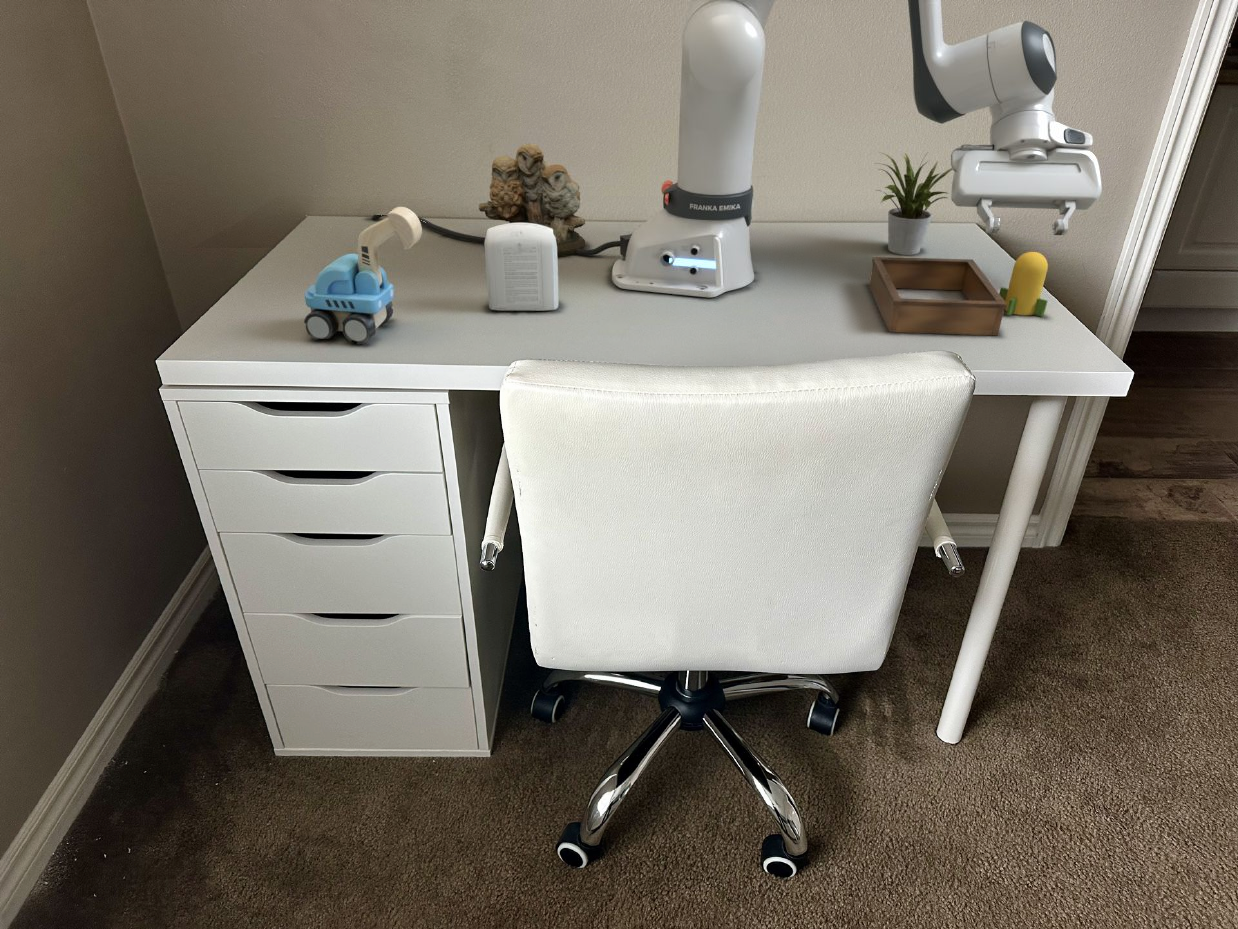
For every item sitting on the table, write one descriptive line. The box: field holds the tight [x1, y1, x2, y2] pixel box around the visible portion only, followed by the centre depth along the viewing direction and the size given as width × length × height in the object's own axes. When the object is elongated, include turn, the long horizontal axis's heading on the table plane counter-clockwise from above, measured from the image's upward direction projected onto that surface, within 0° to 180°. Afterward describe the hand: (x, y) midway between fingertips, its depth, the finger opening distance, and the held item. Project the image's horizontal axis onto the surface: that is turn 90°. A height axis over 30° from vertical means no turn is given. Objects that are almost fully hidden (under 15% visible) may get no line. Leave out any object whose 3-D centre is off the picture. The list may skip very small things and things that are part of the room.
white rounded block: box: [483, 222, 560, 311], centre depth 125 cm, size 10×4×12 cm, turn 92°
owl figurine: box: [478, 142, 587, 258], centre depth 147 cm, size 18×12×17 cm, turn 88°
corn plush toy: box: [998, 251, 1049, 318], centre depth 125 cm, size 5×5×8 cm
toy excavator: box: [303, 206, 423, 345], centre depth 116 cm, size 9×17×17 cm, turn 80°
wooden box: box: [868, 256, 1007, 336], centre depth 126 cm, size 15×18×5 cm
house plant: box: [874, 151, 954, 256], centre depth 146 cm, size 14×14×16 cm
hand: (1026, 232), depth 126 cm, fingers open, 8 cm apart
